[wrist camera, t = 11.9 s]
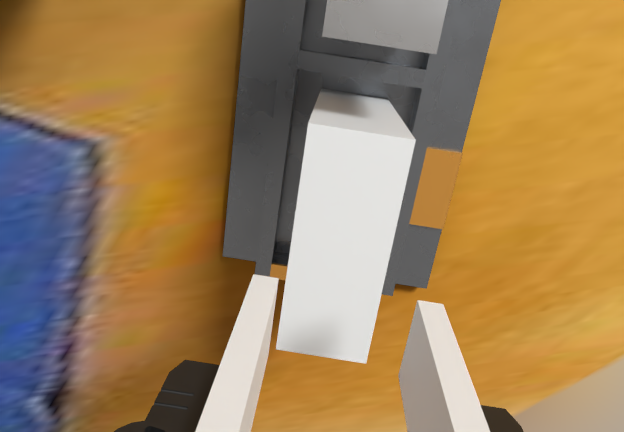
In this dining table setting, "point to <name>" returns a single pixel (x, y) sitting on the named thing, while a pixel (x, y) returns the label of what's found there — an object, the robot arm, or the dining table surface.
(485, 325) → the dining table surface
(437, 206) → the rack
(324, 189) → the block
